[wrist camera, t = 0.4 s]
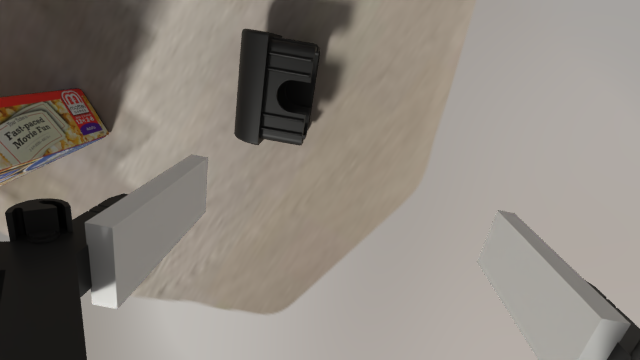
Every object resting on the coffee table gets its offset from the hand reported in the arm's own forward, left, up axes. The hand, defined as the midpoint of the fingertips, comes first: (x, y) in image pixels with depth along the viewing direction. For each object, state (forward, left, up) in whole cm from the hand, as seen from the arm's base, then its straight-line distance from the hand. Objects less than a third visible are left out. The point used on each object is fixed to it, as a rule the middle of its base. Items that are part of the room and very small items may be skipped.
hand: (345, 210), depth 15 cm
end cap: (-6, -5, -24) cm, 25 cm away
